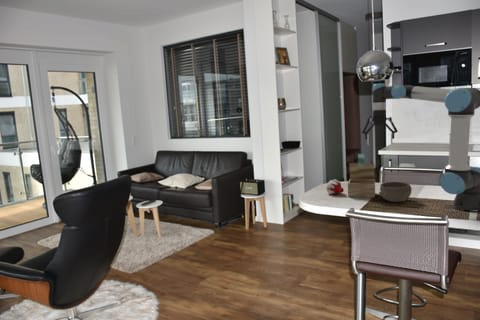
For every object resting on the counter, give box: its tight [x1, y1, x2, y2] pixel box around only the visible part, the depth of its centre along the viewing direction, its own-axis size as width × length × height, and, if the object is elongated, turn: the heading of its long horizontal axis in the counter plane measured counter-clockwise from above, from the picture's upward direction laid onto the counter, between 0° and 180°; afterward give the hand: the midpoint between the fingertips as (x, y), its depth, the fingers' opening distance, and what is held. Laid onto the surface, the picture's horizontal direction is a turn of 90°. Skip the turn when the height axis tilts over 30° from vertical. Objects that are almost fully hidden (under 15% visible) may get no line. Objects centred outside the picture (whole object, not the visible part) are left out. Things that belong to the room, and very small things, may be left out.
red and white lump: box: [326, 178, 344, 195], centre depth 259 cm, size 9×11×15 cm
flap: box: [348, 153, 376, 180], centre depth 252 cm, size 22×15×4 cm
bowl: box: [378, 181, 413, 203], centre depth 236 cm, size 17×18×10 cm
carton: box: [347, 178, 376, 199], centre depth 254 cm, size 14×16×9 cm
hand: (379, 144), depth 241 cm, fingers open, 13 cm apart
